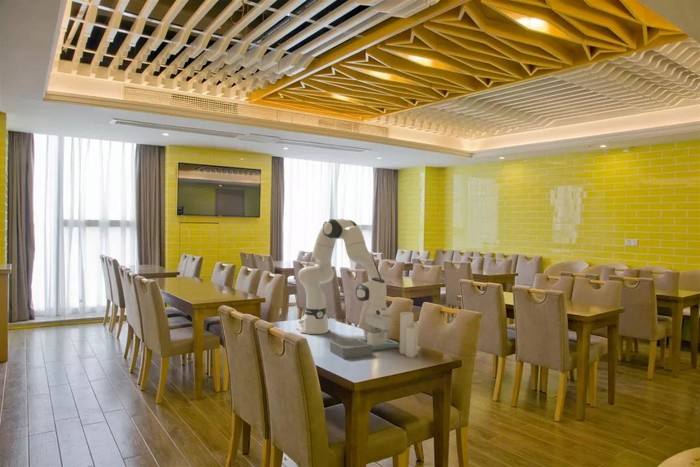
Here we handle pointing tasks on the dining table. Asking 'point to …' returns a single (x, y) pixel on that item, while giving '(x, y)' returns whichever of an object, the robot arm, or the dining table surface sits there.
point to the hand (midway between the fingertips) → (377, 335)
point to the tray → (384, 345)
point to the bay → (351, 349)
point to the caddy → (376, 337)
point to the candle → (408, 334)
